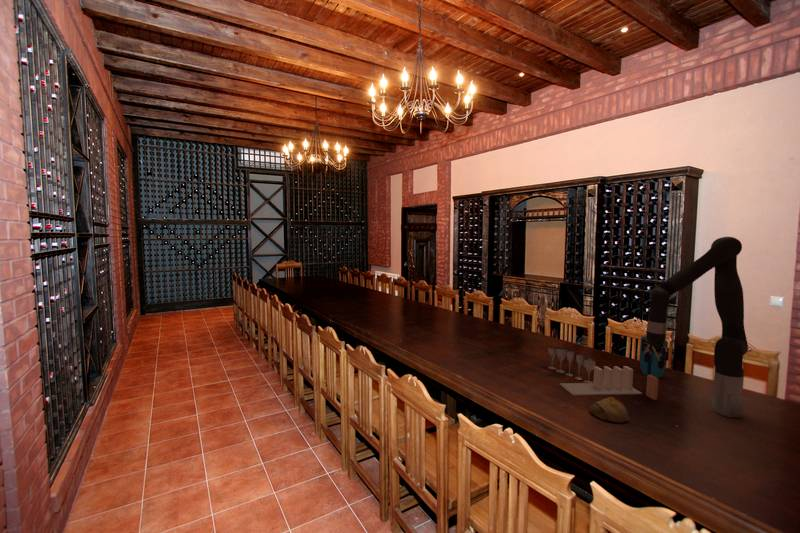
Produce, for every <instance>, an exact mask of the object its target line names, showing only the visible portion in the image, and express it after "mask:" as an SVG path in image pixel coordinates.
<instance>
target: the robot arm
mask: <svg viewBox="0 0 800 533" xmlns="http://www.w3.org/2000/svg"><path fill="white" fill-rule="evenodd" d="M742 250H743V245H742V242H741V241H740V239H737V238H736V237H734V236H723V237H719V238H717V239H715V240H713V242H712V243H711V245H710V249H708V250H707V251H706V252H705V253H704V254H703V255H702V256H700V257H699V258H697V259H695V260H694V261H692V262H691V263H689V264H688V265H686V266H685V267H683V268H681V269H679V270H678V271H677V272H676V273H674V274H673V275H672V276H670V277H669V278H668V279H667V280H665V281H663V282H662V283H660V284H658V285H656V286H655V287H653V288H652V289H651V290H650V292H649V298H650V308H649V311H648V318H647V324H646V333H645V336H646V339H643V340H642V346H641V345H640V348H641V351H643V352H644V361H645V362H650V353H651V352H653V353H655V355H656V356H657V357H658V368H659V369H663V367H664V361H668V362H669V358H670V357H669V355H670V348H669V347H664V346H663V343H665V341H667V340H666V339H667V338H666V337H667V322H668V321H667V320H668V309H669V305H670V298H671V296H673V295H674V294H676V293H677V292H681V291H683V290H684V289H686V288H688V286H690V285H691V284H692V283H694V282H696V281H697V280H698V279H699V278H701V277H702V276H703V275H705V274H706V273H708V272H709V271H711V270H712V269H714V282H713V284H714V286H713V287H714V292H713V294H714V304H715V305H714V306H715V308H716V312H717V314H718V317H719V319H720V322H721V338H719V339H718V340H716V342H715V344H714V350H713V351H714V353H713V366H714V375H713V376H714V377H713V387H712V398H711V399H712V400H711V411H713V412H714V413H716V414H719V415H721V416H724V417H727V418H743V412H744V403H745V395H744V394H743V386H744V378H745V377H744V375H745V374H744V373H745V370H744V369H743V362H744V359H743V358H744V356H745V355H747V352H748V350H749V345H748V340H747V335H746V330H745V323H744V322H745V321H744V320H745V308H744V307H745V306H744V305H745V303H744V302H745V300H744V288H743V286H742V282H741V278H740V276H739V273H738V267H737V265H738V264H737V262H738V260H737V259H738V255H739V254H740V253H741V251H742ZM644 347H645V349H644ZM660 352H661V354H659V353H660ZM660 356H661V357H660ZM665 356H666V358H665Z"/></svg>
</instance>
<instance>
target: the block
mask: <svg viewBox="0 0 800 533" xmlns="http://www.w3.org/2000/svg"><path fill="white" fill-rule="evenodd" d="M640 337H641V338H640V349H639V350H640V352H639V364H640V365H639V366H640V370H641V373H642V374H644V375H646V376H647V375H652V376H654V377H656V378H658V379H661V378H663V376H664V373H665V370H666V368H667V361H664V367H663V369H659V368H658V357H657V356H656V355H655V353H653V352H651V353H650V362H645V361H644V352H643V351H641V346H642V340H643V339H646V335H641V336H640ZM668 344H669V341H668V340H666V341H665V343H663V346H664V347H668ZM668 348H669V347H668ZM644 349H645V347H644ZM659 354H661V352H660V353H659ZM660 357H661V356H660ZM665 358H666V356H665Z"/></svg>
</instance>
